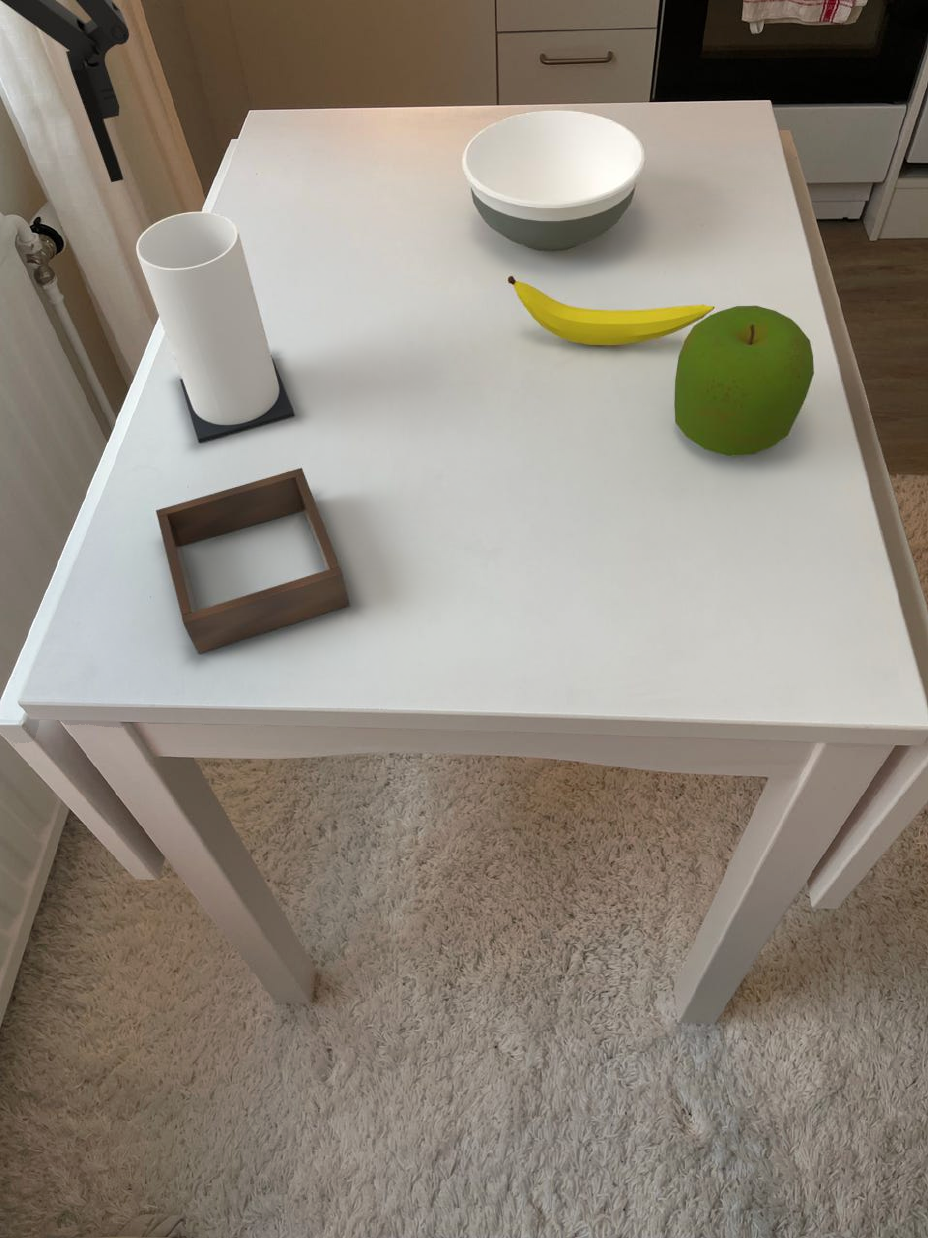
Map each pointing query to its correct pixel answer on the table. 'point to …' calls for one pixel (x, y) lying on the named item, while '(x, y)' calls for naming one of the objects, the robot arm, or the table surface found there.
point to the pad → (213, 431)
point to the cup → (210, 315)
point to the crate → (264, 606)
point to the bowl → (553, 176)
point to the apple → (742, 380)
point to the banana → (605, 319)
